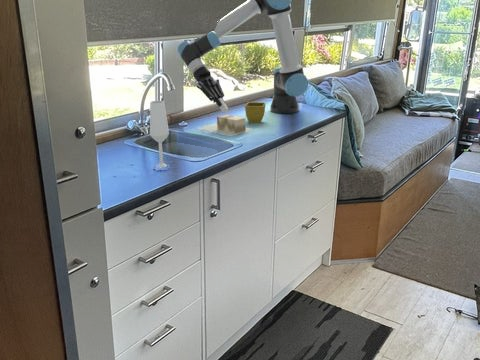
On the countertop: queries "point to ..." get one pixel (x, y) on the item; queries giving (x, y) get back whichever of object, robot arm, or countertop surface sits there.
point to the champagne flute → (158, 126)
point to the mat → (214, 129)
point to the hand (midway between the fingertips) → (226, 111)
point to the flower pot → (255, 111)
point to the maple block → (231, 123)
